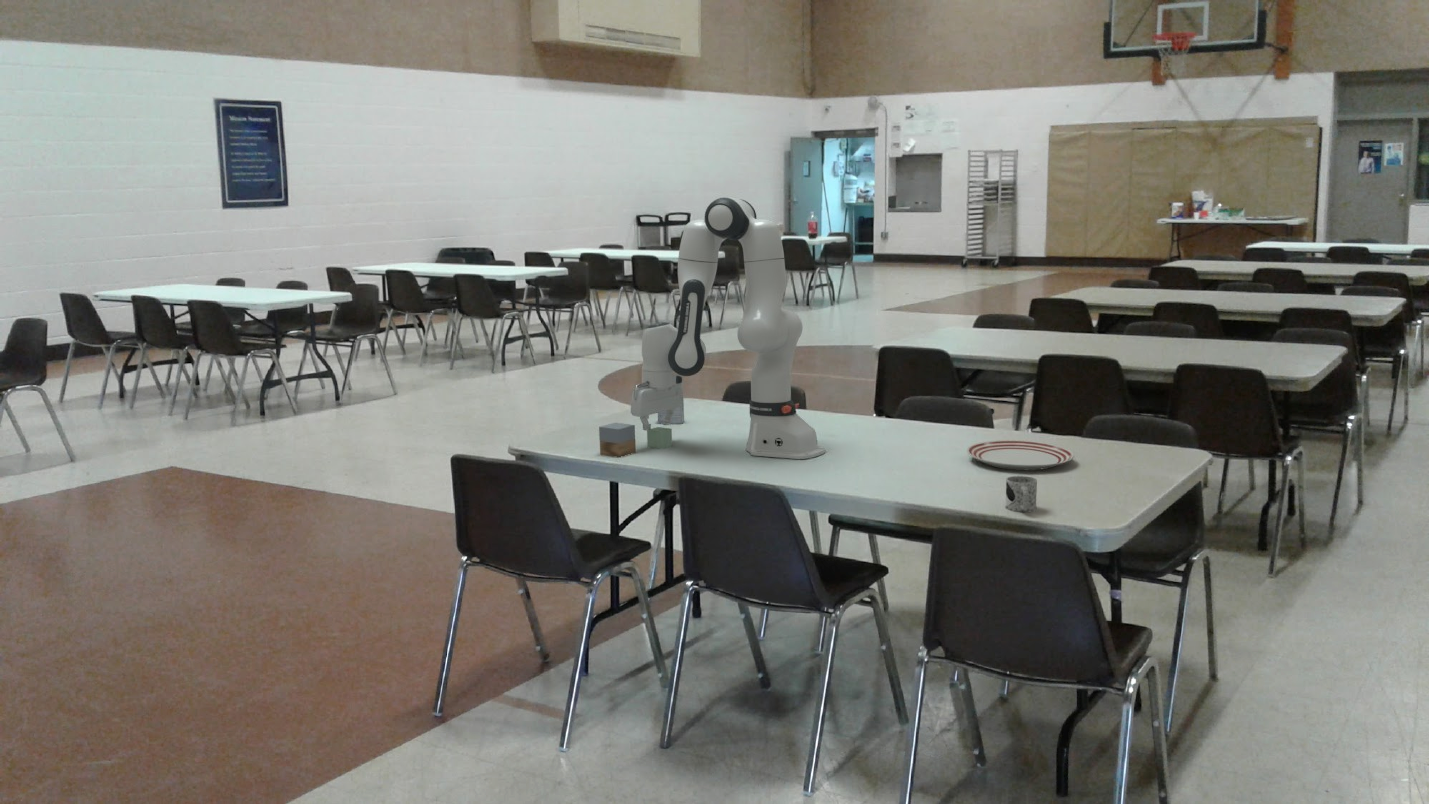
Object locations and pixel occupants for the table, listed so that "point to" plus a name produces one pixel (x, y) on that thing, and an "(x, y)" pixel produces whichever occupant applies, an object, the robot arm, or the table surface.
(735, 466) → the table surface
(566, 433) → the table surface
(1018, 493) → the mug
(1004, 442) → the dinner plate
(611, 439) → the tower top
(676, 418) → the medicine box
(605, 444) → the tower base
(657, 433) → the sage block
